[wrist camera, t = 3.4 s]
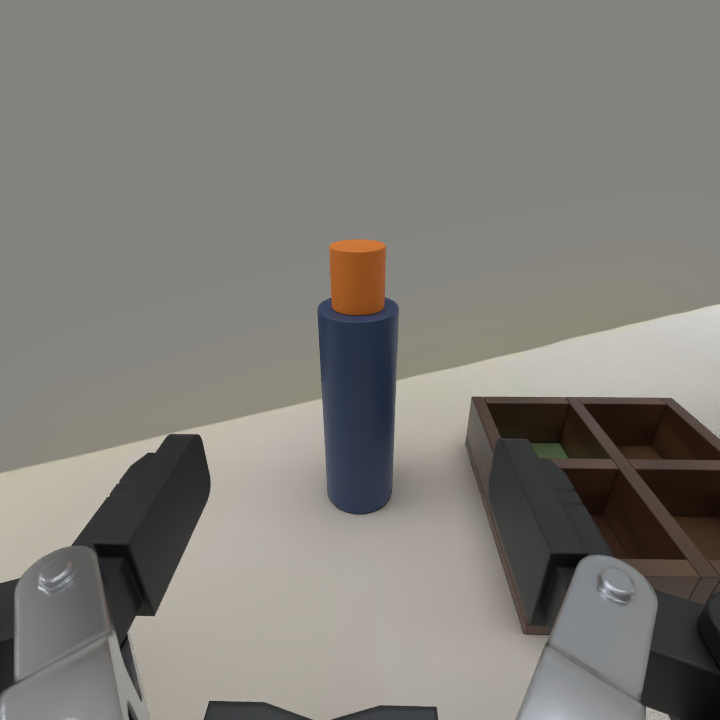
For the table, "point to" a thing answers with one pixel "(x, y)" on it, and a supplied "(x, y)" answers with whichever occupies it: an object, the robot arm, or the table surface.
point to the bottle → (358, 377)
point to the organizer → (620, 480)
